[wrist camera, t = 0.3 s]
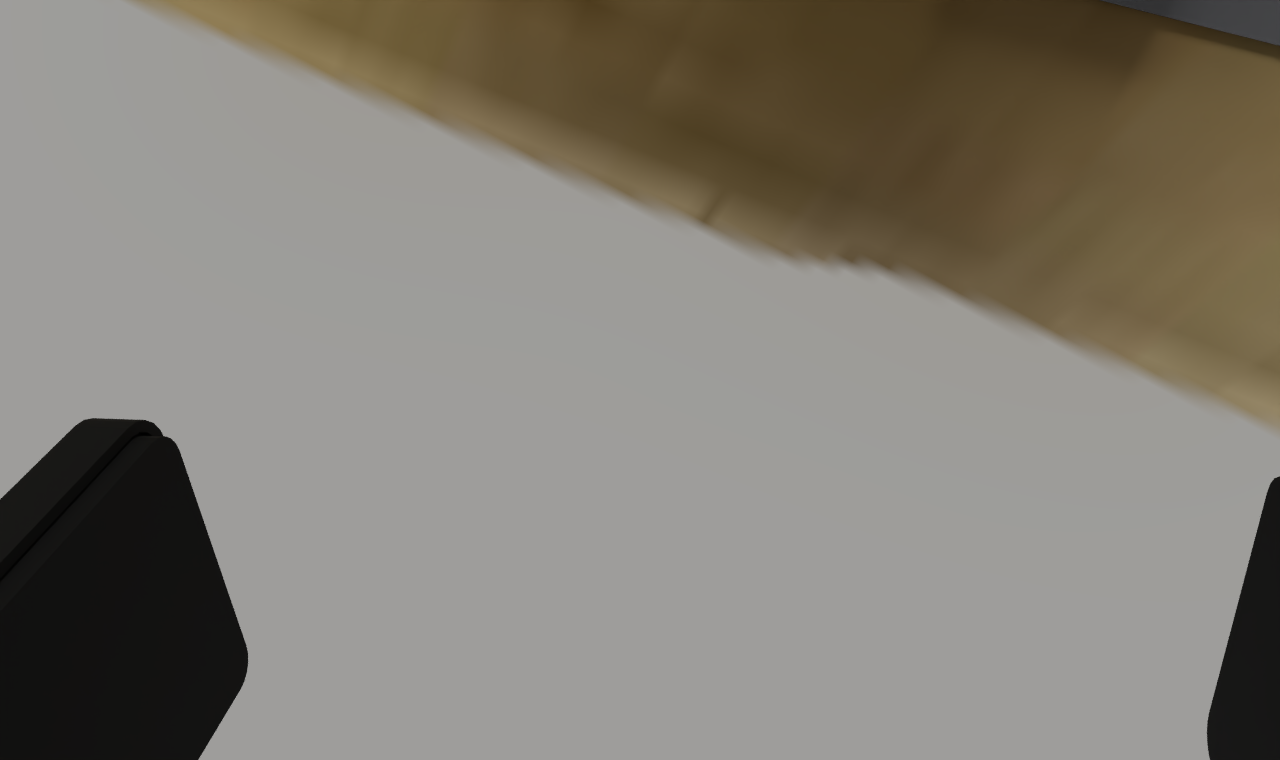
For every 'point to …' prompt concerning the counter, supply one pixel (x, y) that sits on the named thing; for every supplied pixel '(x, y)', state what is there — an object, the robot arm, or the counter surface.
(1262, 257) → the counter surface
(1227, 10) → the bench mat
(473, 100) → the counter surface
